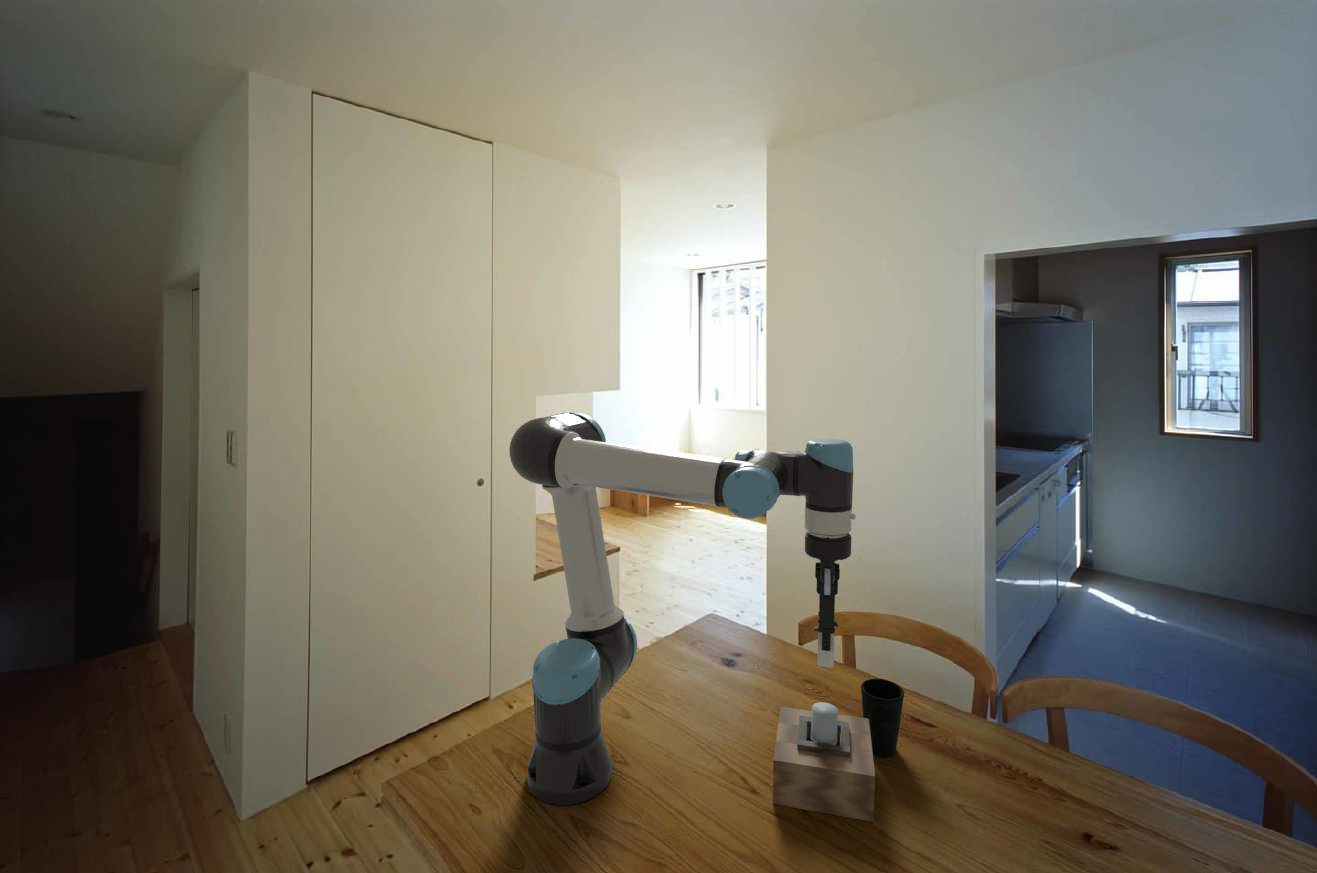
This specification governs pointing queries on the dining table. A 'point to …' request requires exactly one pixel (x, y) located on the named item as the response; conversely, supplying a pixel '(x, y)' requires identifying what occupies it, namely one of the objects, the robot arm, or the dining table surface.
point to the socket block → (824, 767)
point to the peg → (824, 723)
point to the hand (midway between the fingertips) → (825, 664)
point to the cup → (882, 714)
